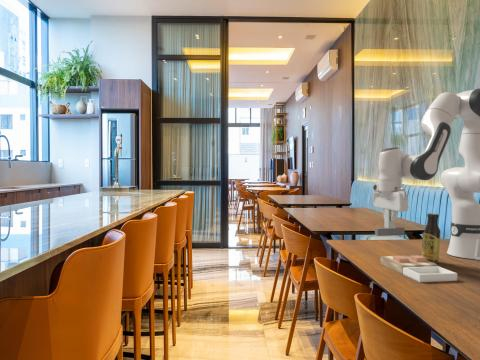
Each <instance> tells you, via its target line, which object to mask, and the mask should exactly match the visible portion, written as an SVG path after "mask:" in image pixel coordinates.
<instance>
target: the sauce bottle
mask: <svg viewBox="0 0 480 360" xmlns="http://www.w3.org/2000/svg"><path fill="white" fill-rule="evenodd" d="M426 215H427V221H426V225H425V228H424V230H423V233H422V245H421V247H422V248H421V256H423V257H425V258H426V260H427V261H429V262H432V263H435V264H438V263H439V260H440V250H441V248H440V247H441V229H440V228H439V226H438V225H439V223H438V222H439V218H440V217H439V213H435V212H433V213H432V212H428V213H427V214H426Z"/></svg>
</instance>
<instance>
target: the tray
mask: <svg viewBox="0 0 480 360" xmlns="http://www.w3.org/2000/svg"><path fill="white" fill-rule="evenodd" d="M402 275H403V276H405V277H407V278H409V279H411V280H414V281H416V282H418V283H431V282H432V283H433V282H455V281H457V282H458V273H457V272H455V271H452V270H449V269H447V268H444V267H441V266H439V265H437V266H430V267H403V274H402Z"/></svg>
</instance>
